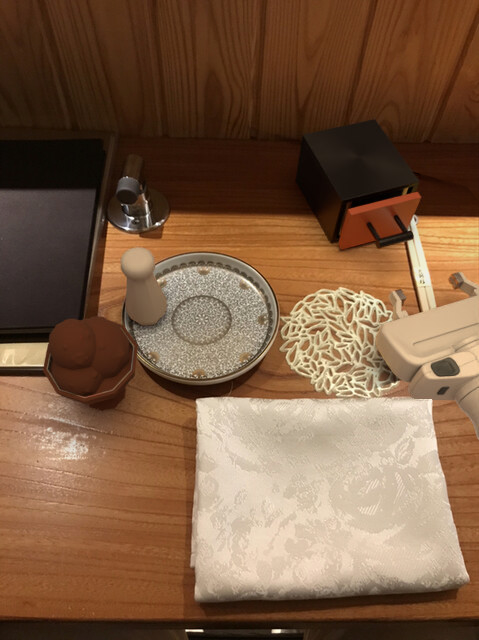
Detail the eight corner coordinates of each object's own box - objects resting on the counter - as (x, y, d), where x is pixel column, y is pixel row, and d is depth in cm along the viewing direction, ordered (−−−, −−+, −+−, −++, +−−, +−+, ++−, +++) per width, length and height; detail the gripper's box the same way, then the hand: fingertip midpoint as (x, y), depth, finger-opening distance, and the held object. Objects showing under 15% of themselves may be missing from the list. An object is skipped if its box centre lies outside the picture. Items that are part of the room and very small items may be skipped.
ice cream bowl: (89, 447, 70) (60, 398, 57) (48, 381, 74) (13, 321, 62) (162, 401, 73) (150, 345, 60) (119, 341, 78) (99, 276, 65)
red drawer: (421, 254, 86) (437, 220, 80) (354, 273, 84) (365, 239, 78) (368, 174, 95) (379, 137, 89) (306, 189, 93) (313, 152, 86)
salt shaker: (176, 308, 81) (169, 251, 70) (153, 337, 78) (142, 283, 67) (143, 291, 82) (131, 232, 71) (119, 319, 80) (103, 262, 69)
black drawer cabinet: (401, 225, 91) (419, 181, 83) (330, 243, 88) (342, 200, 80) (362, 164, 98) (375, 118, 90) (295, 180, 95) (302, 134, 87)
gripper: (560, 333, 70) (498, 250, 77) (415, 381, 66) (363, 289, 73) (536, 357, 75) (480, 278, 82) (400, 403, 71) (353, 315, 78)
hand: (424, 283), depth 77 cm, fingers open, 8 cm apart
